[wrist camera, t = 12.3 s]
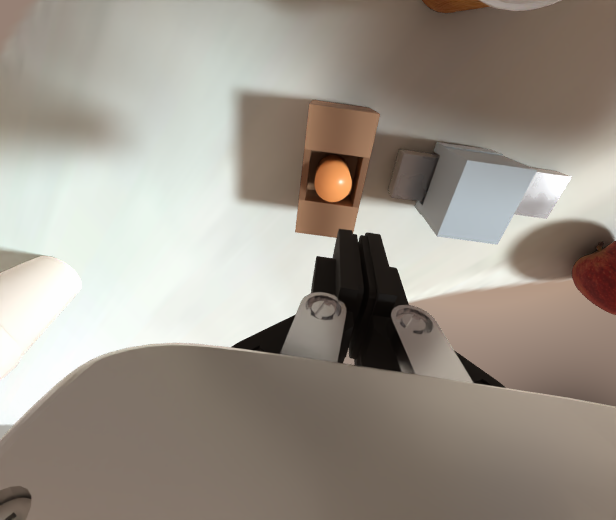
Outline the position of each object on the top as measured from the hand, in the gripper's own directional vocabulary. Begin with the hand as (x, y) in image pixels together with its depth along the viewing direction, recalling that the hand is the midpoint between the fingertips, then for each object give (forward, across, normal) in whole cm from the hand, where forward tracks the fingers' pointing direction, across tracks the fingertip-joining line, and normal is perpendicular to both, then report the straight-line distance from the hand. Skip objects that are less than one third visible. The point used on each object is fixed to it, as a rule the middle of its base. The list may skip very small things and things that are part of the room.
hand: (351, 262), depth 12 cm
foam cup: (+18, +34, +19) cm, 43 cm away
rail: (+19, -13, 0) cm, 23 cm away
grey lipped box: (+19, -10, 0) cm, 22 cm away
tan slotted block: (+18, +1, 0) cm, 19 cm away
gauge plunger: (+15, +1, 0) cm, 15 cm away
